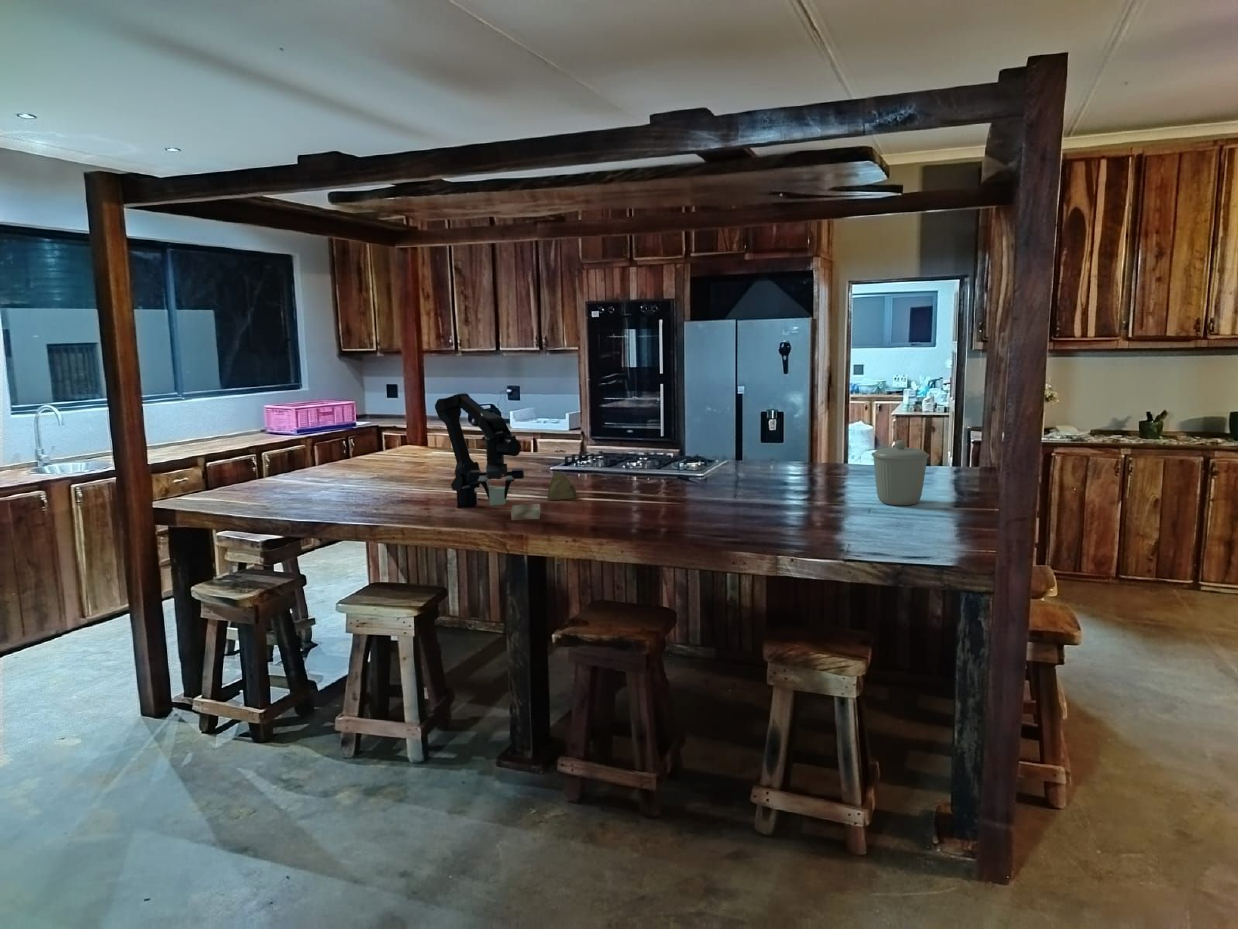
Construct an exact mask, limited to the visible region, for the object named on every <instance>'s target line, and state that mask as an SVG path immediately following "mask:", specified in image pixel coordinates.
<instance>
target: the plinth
mask: <svg viewBox="0 0 1238 929" xmlns="http://www.w3.org/2000/svg"><path fill="white" fill-rule="evenodd" d="M510 516H511V521H517V520H518V521H520V520H521V521H522V520H540V517H541V504H540V503H536V504H535V503H532V504H530V503H529V504H512V507H511V510H510Z"/></svg>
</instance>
